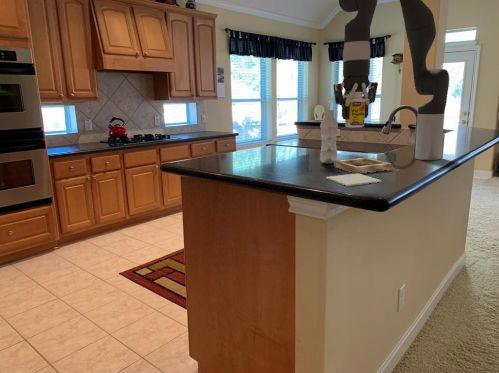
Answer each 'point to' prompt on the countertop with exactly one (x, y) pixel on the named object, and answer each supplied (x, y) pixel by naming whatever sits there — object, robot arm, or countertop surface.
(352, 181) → the white square pad
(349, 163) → the beech cradle
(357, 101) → the supplement bottle
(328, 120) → the plastic bottle
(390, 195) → the countertop surface
